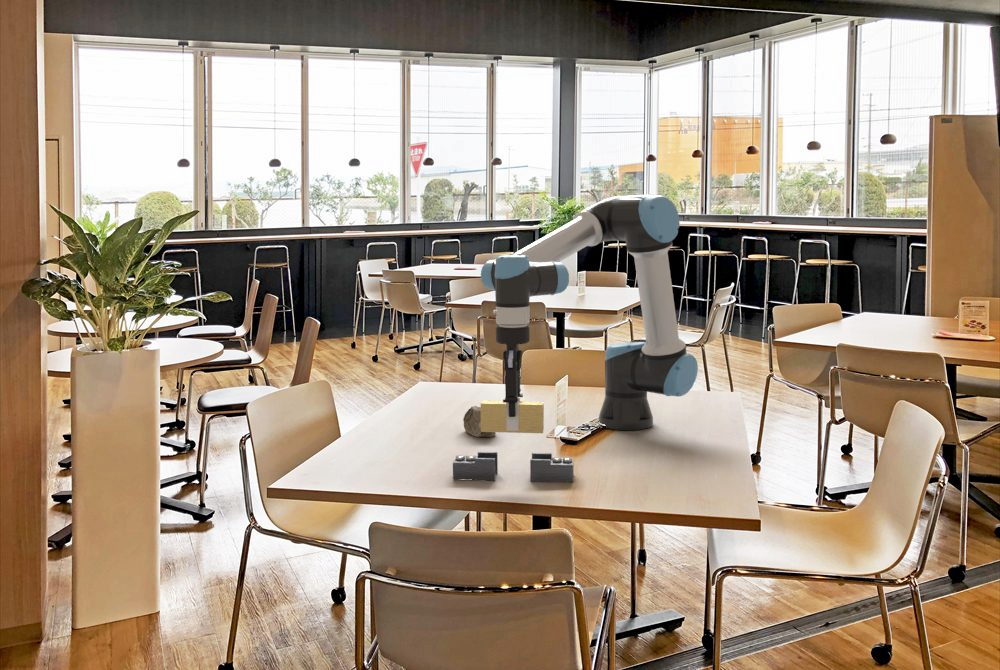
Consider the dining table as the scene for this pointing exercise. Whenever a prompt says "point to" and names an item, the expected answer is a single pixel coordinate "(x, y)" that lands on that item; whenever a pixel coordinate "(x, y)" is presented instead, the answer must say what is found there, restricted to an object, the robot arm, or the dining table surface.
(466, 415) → the stone
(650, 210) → the robot arm
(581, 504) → the dining table surface
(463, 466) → the grey block pair
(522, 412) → the yellow wood block
